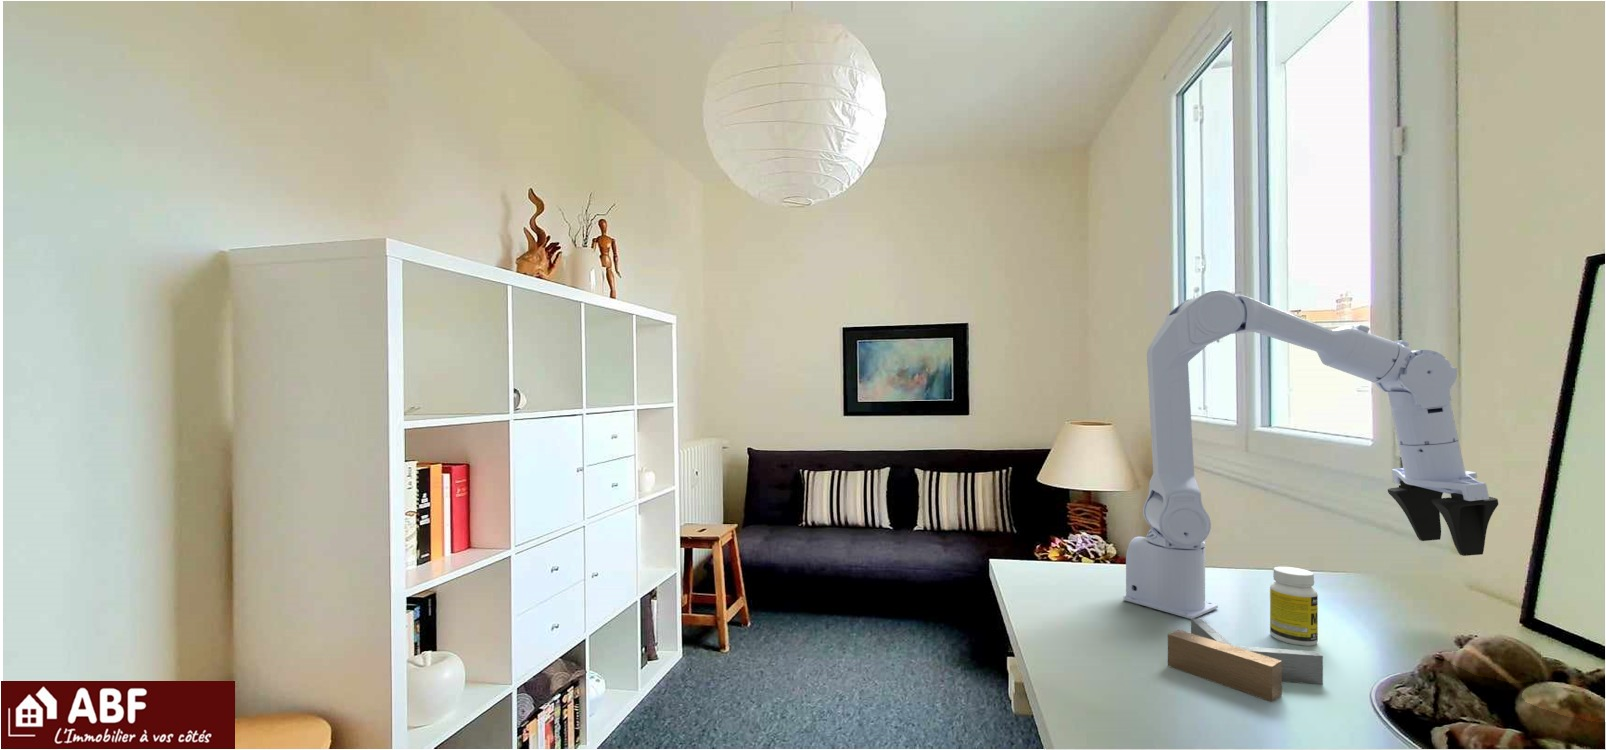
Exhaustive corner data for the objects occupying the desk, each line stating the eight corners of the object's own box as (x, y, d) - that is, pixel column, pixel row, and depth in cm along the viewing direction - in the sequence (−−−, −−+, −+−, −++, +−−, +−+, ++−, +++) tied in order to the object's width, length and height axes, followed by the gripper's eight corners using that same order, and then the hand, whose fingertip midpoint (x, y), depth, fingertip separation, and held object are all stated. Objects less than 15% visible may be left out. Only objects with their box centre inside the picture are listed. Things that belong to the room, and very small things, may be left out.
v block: (1154, 660, 74) (1154, 629, 74) (1194, 641, 79) (1194, 612, 79) (1290, 708, 63) (1290, 672, 63) (1325, 682, 69) (1325, 649, 69)
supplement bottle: (1320, 650, 77) (1320, 578, 77) (1271, 641, 80) (1271, 572, 80) (1315, 636, 81) (1314, 568, 81) (1268, 628, 84) (1268, 563, 84)
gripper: (1509, 442, 77) (1534, 558, 76) (1427, 433, 91) (1447, 530, 90) (1437, 450, 78) (1461, 564, 78) (1367, 440, 92) (1387, 536, 92)
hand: (1449, 546), depth 84 cm, fingers open, 7 cm apart
